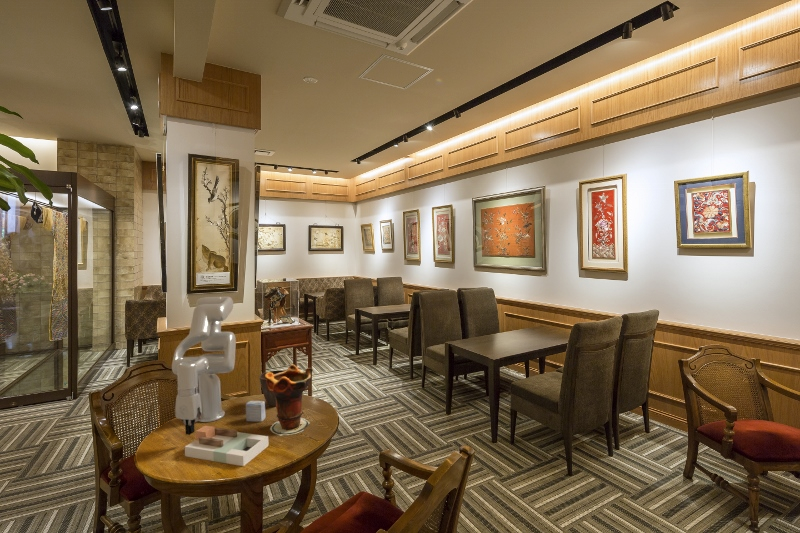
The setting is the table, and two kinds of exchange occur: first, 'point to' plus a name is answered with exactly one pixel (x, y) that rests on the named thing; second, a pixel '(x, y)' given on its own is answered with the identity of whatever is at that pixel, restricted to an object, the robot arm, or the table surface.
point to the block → (205, 432)
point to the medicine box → (255, 411)
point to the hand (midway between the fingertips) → (190, 433)
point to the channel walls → (217, 441)
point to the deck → (229, 449)
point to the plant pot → (267, 393)
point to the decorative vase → (289, 399)
